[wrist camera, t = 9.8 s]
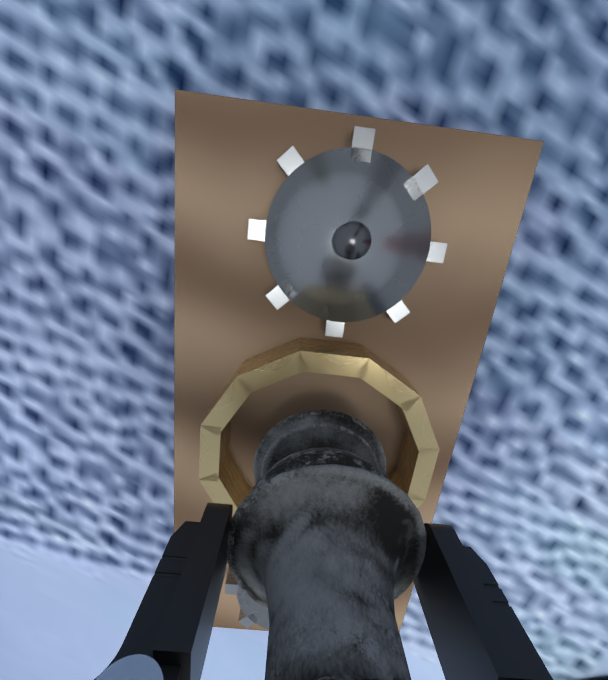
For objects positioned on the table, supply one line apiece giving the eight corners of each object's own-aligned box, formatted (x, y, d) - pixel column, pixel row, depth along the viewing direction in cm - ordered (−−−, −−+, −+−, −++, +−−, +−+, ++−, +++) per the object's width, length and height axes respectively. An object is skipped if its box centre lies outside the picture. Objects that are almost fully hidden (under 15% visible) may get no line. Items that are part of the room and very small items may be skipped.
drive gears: (258, 121, 11) (250, 94, 9) (460, 149, 11) (492, 129, 9) (225, 620, 18) (216, 664, 16) (349, 629, 18) (355, 674, 16)
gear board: (187, 104, 12) (175, 89, 11) (521, 151, 12) (543, 141, 11) (181, 601, 19) (174, 623, 18) (391, 617, 20) (396, 640, 19)
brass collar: (215, 327, 13) (202, 339, 11) (441, 352, 13) (462, 368, 12) (208, 512, 16) (196, 544, 14) (396, 529, 16) (407, 562, 14)
